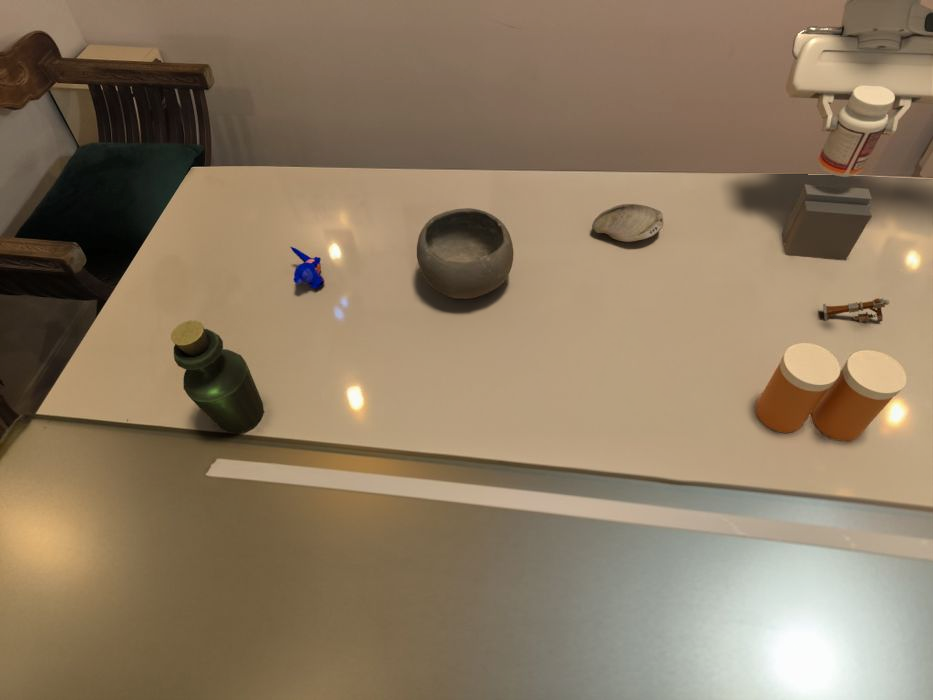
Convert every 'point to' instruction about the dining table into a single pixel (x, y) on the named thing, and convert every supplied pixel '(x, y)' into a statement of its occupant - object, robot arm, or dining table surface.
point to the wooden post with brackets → (856, 307)
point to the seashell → (629, 222)
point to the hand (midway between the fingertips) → (858, 132)
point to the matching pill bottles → (829, 390)
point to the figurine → (308, 270)
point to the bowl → (465, 252)
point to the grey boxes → (827, 221)
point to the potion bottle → (216, 378)
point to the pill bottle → (856, 131)
